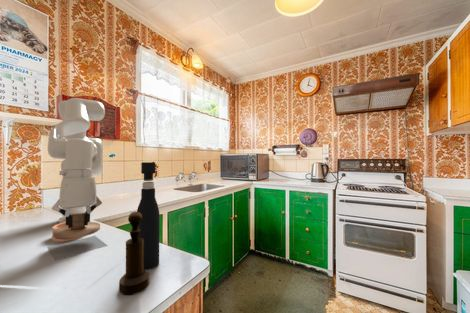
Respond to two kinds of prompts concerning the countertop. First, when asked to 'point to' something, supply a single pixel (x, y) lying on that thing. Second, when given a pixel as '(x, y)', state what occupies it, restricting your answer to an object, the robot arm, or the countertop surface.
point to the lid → (76, 228)
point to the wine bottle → (149, 218)
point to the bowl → (57, 228)
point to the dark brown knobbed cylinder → (134, 260)
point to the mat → (75, 247)
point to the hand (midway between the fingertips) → (78, 225)
